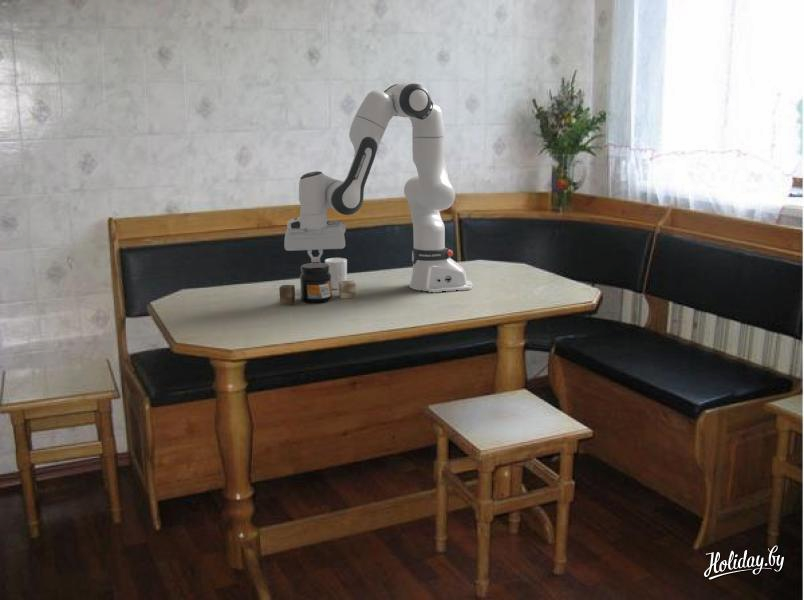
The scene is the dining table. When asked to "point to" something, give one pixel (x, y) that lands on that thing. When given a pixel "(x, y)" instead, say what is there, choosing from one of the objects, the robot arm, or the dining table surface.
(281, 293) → the walnut block
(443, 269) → the robot arm
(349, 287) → the beech block
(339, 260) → the white cup
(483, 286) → the dining table surface
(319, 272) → the supplement container
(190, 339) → the dining table surface
